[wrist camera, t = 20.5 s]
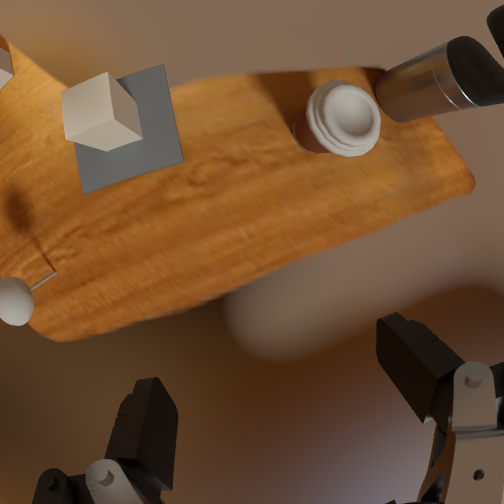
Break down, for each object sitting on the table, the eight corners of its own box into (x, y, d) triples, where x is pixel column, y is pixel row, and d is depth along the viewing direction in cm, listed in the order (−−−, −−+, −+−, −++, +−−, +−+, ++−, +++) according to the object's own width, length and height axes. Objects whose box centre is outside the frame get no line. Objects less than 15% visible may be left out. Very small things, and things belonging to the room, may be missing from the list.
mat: (164, 65, 31) (163, 64, 30) (184, 161, 35) (183, 161, 34) (70, 101, 30) (69, 100, 29) (85, 194, 34) (83, 194, 33)
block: (136, 102, 31) (107, 71, 20) (143, 138, 33) (114, 118, 21) (100, 115, 31) (61, 92, 19) (106, 151, 32) (65, 139, 21)
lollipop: (37, 257, 34) (-21, 288, 20) (63, 249, 35) (5, 280, 20) (49, 293, 36) (-2, 336, 21) (75, 287, 36) (25, 332, 22)
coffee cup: (298, 172, 37) (335, 167, 26) (272, 113, 35) (298, 84, 23) (351, 151, 38) (399, 142, 26) (327, 96, 35) (368, 69, 24)
